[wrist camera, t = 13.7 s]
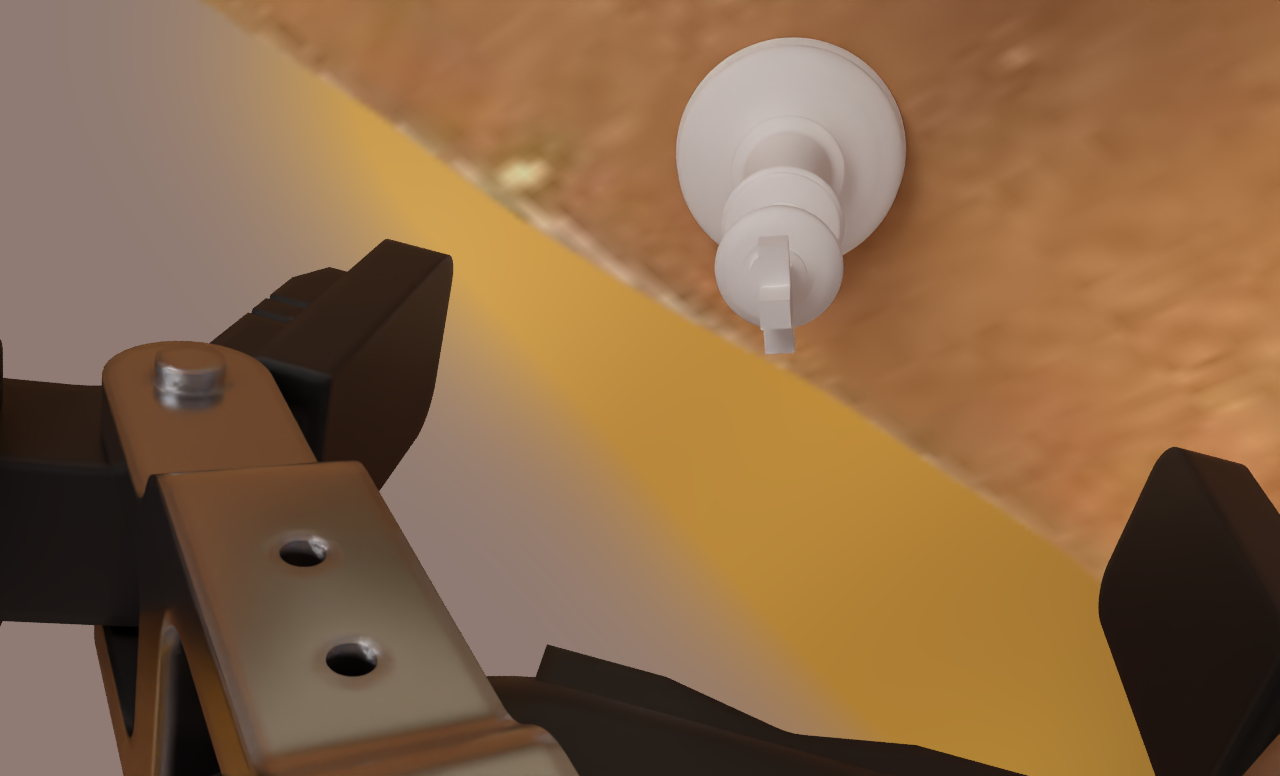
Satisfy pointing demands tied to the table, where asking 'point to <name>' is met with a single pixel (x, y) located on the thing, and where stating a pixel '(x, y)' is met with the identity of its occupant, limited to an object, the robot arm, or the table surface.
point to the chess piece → (788, 175)
